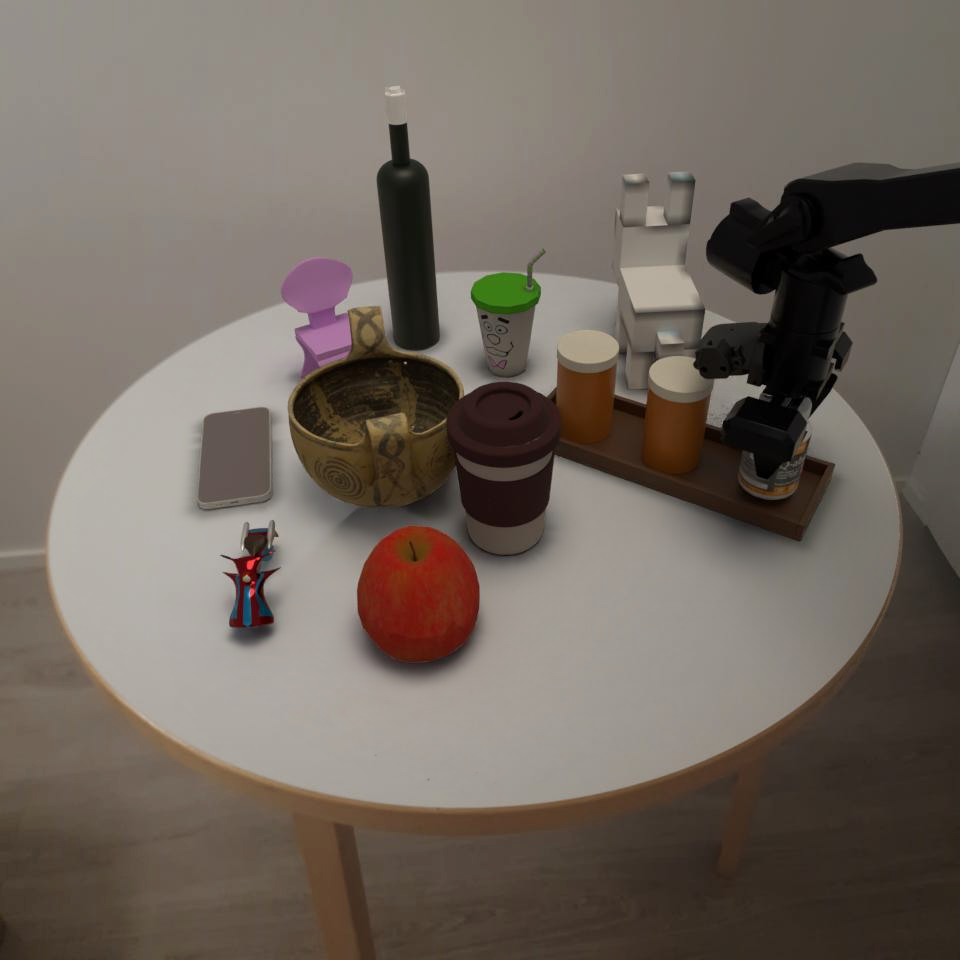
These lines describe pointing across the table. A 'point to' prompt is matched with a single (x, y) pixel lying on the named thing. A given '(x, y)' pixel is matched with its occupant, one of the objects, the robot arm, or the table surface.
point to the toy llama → (654, 276)
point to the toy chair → (320, 309)
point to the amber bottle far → (586, 385)
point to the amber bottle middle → (675, 415)
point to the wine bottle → (407, 235)
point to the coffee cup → (504, 463)
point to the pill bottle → (785, 475)
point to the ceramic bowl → (375, 420)
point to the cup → (507, 318)
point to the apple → (418, 595)
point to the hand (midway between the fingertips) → (773, 459)
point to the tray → (701, 473)
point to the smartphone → (235, 458)
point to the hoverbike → (252, 578)
